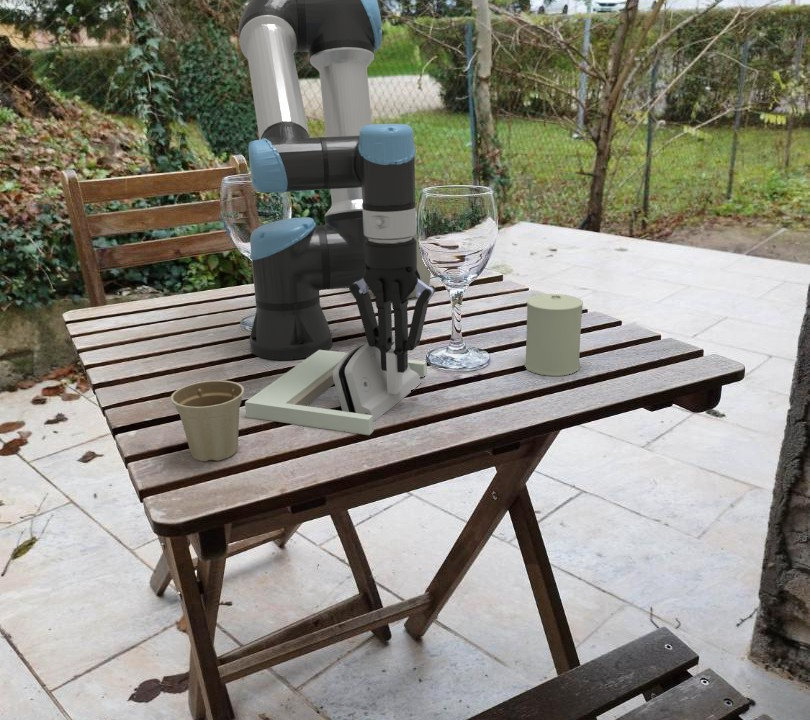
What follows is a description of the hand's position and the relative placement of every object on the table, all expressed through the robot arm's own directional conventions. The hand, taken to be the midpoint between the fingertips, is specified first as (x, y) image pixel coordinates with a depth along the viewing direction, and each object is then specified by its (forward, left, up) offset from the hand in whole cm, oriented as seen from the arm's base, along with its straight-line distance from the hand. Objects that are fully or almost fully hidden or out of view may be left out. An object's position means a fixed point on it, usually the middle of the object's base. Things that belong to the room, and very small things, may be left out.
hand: (395, 390), depth 117 cm
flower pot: (-17, -23, -2) cm, 29 cm away
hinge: (-3, 0, -2) cm, 4 cm away
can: (+20, +22, -2) cm, 30 cm away
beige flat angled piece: (-9, 0, -2) cm, 9 cm away
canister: (-22, +58, -2) cm, 62 cm away
